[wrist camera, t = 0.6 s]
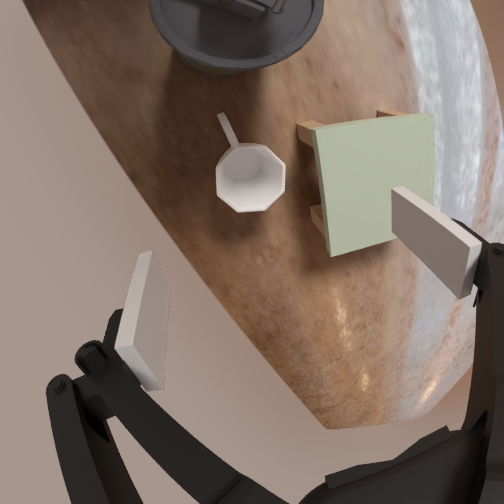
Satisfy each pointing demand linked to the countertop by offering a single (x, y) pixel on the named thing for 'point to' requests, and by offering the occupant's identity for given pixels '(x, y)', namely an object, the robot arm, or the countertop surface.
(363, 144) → the stool
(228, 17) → the canister
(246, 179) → the cup
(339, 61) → the countertop surface
